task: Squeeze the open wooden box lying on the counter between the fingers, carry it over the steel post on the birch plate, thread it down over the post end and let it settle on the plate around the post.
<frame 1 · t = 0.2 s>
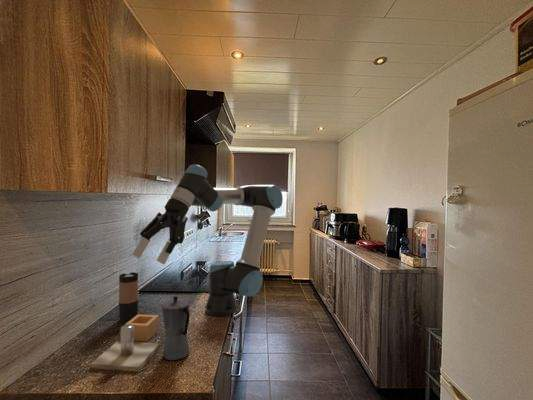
hand: (147, 259, 88), 35 cm above the worktop, tool tilted 35°, fingers open, 13 cm apart
post stand: (127, 357, 96), on the worktop
moka pot: (177, 354, 98), on the worktop
travel mug: (128, 320, 124), on the worktop
open wooden box: (142, 334, 111), on the worktop
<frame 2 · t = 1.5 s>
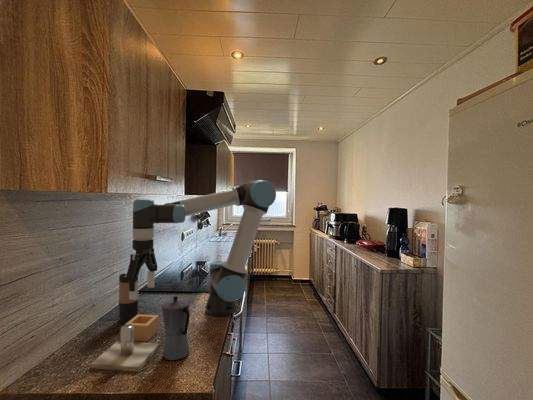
hand: (142, 292, 110), 17 cm above the worktop, tool pointing down, fingers open, 13 cm apart
nothing on the worktop moved.
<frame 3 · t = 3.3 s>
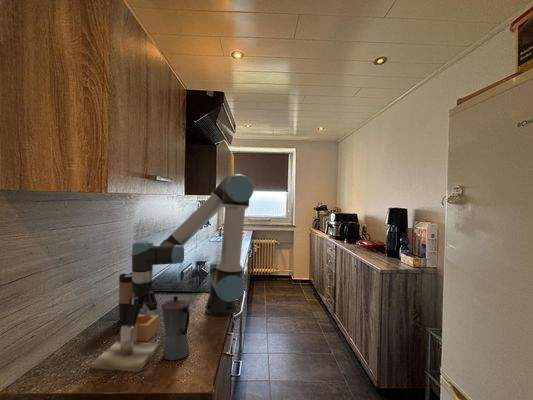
hand: (142, 334, 111), 0 cm above the worktop, tool pointing down, fingers open, 13 cm apart
nothing on the worktop moved.
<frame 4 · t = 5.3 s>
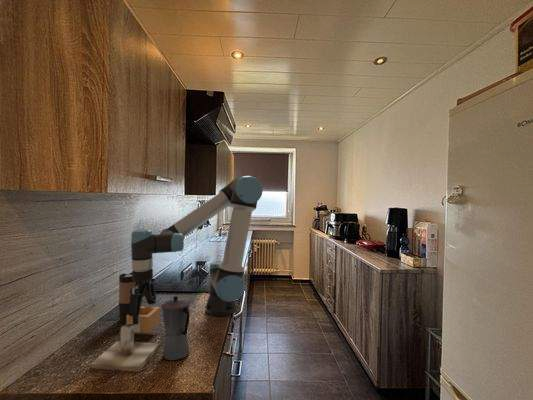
hand: (143, 325, 111), 4 cm above the worktop, tool pointing down, fingers closed on open wooden box, 9 cm apart
open wooden box: (144, 326, 111), point 3 cm above the worktop, touching gripper
everything else where it was.
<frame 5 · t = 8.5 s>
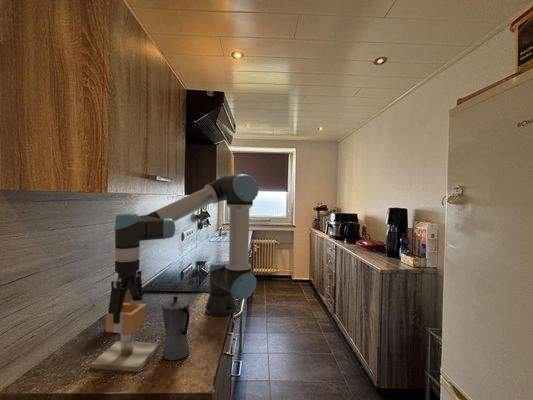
hand: (127, 325, 96), 11 cm above the worktop, tool pointing down, fingers closed on open wooden box, 9 cm apart
open wooden box: (127, 325, 96), point 11 cm above the worktop, touching gripper
everything else where it was.
when the fingers open (3 cm above the worktop, at t = 11.6 s): open wooden box drops 1 cm, resting on post stand.
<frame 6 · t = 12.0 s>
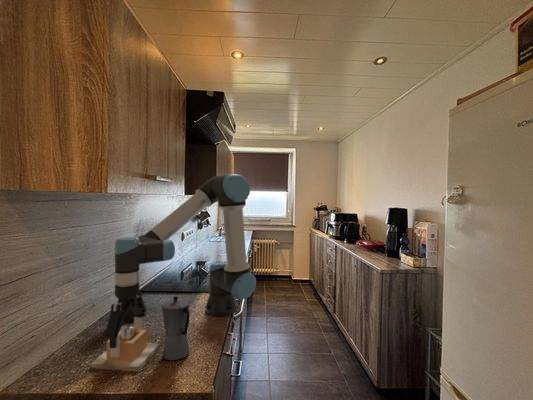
hand: (127, 345, 96), 4 cm above the worktop, tool pointing down, fingers open, 13 cm apart
open wooden box: (127, 352, 96), point 1 cm above the worktop, touching post stand
everything else where it was.
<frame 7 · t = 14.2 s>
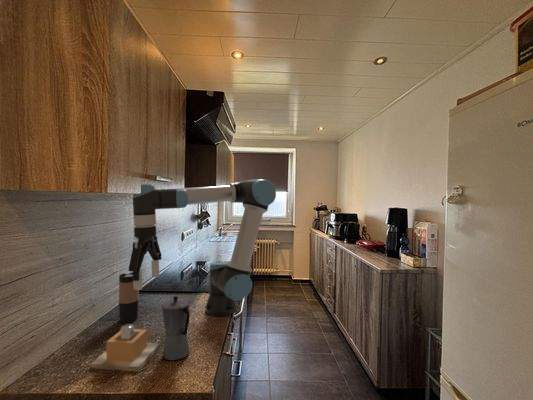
hand: (147, 282, 105), 23 cm above the worktop, tool pointing down, fingers open, 13 cm apart
nothing on the worktop moved.
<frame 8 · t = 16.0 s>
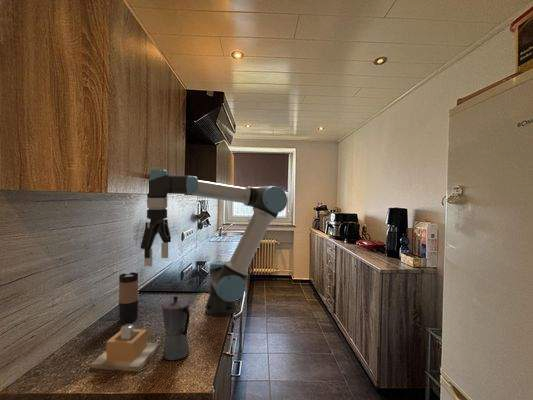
hand: (157, 261, 112), 29 cm above the worktop, tool pointing down, fingers open, 13 cm apart
nothing on the worktop moved.
at the end: open wooden box 0.1 cm from the post stand (horizontally); open wooden box point 1.5 cm above the worktop; the gripper is holding nothing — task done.
